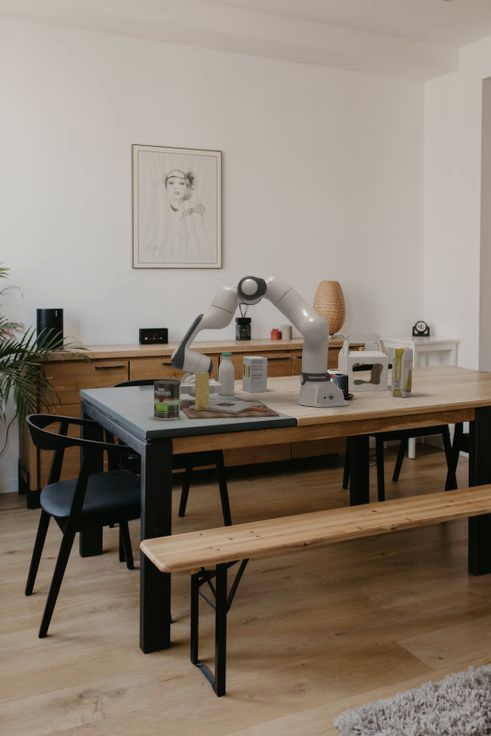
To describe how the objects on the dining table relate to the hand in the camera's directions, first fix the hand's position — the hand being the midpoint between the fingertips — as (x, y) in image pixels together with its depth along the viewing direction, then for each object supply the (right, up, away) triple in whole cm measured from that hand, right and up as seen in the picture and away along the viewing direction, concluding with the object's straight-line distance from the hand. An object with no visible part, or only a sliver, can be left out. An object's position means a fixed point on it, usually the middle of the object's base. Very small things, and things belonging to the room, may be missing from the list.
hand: (199, 391), depth 281 cm
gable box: (+78, -2, +70) cm, 105 cm away
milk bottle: (+9, -3, +46) cm, 47 cm away
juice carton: (+93, -4, +49) cm, 105 cm away
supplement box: (+23, -2, +58) cm, 63 cm away
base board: (+10, -8, +7) cm, 15 cm away
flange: (+13, -7, +4) cm, 15 cm away
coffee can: (-12, -10, -13) cm, 20 cm away
